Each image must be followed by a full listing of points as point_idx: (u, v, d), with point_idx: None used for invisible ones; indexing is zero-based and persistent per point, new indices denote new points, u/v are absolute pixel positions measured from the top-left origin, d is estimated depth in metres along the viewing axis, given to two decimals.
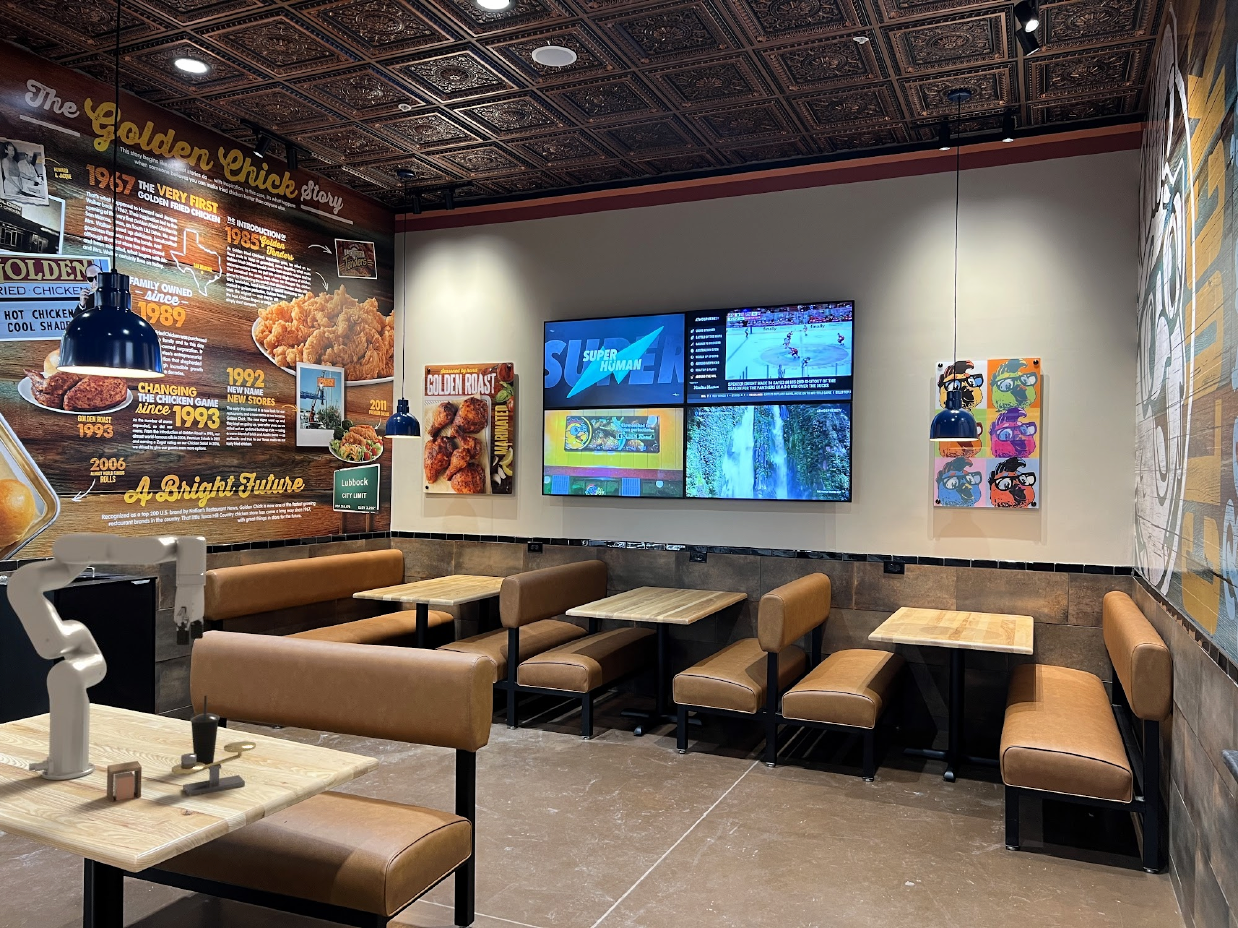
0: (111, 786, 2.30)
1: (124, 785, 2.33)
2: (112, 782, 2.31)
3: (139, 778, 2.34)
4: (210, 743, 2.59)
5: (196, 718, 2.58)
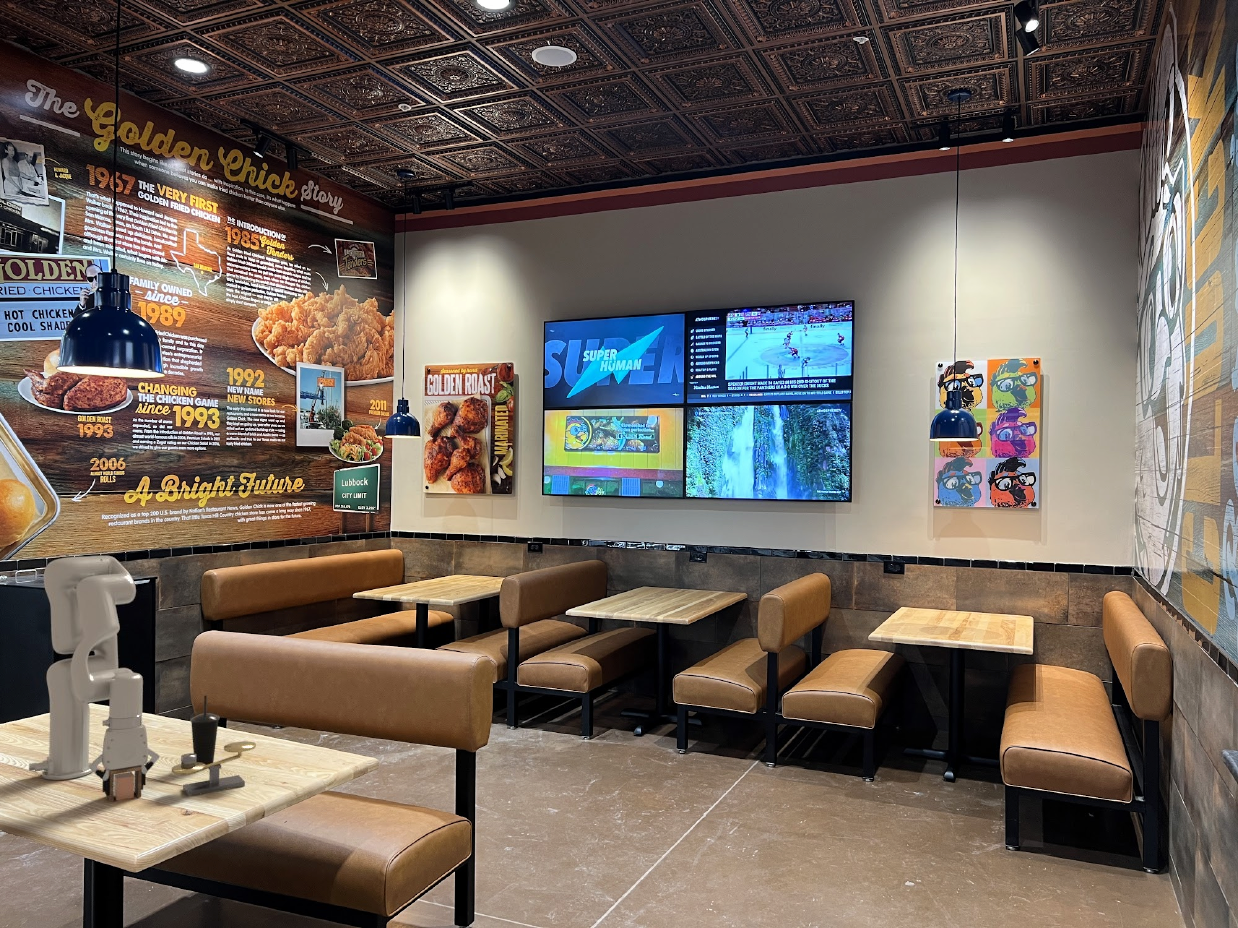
0: (111, 786, 2.30)
1: (124, 785, 2.33)
2: (112, 782, 2.31)
3: (139, 778, 2.34)
4: (210, 743, 2.59)
5: (196, 718, 2.58)
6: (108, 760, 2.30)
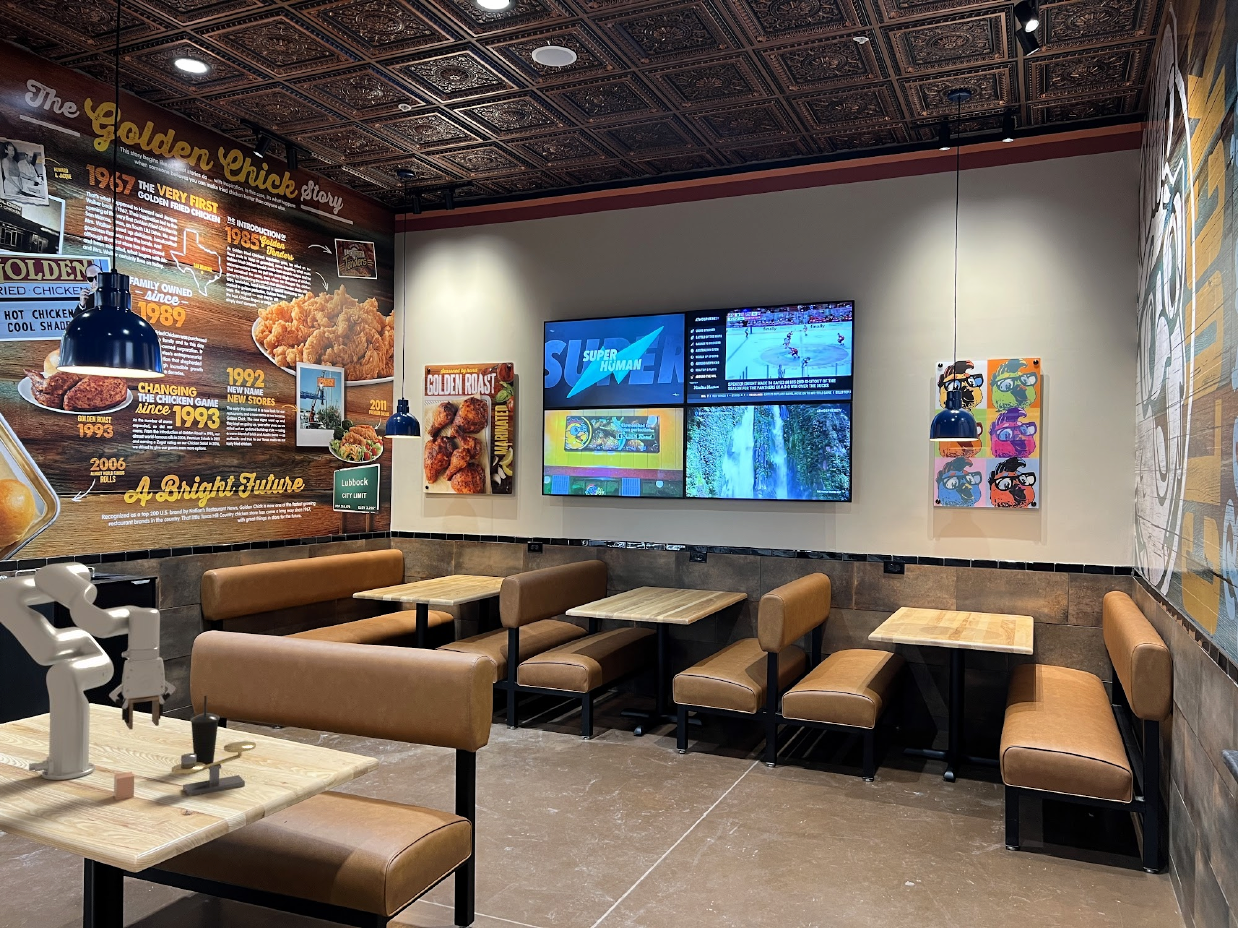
0: (130, 714, 2.42)
1: (124, 785, 2.33)
2: (131, 710, 2.42)
3: (157, 708, 2.46)
4: (210, 743, 2.59)
5: (196, 718, 2.58)
6: (127, 689, 2.42)
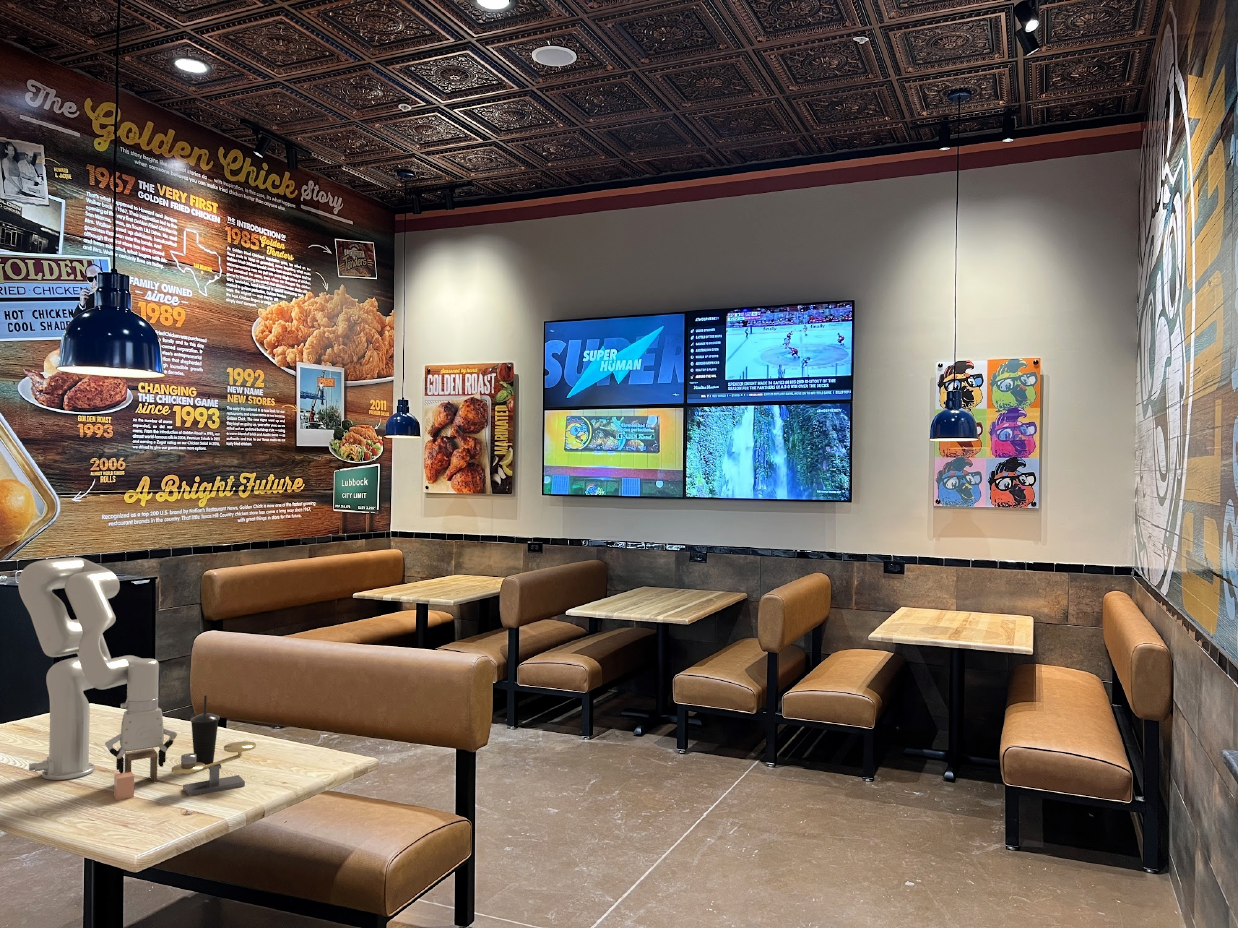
0: None
1: (124, 785, 2.33)
2: (130, 768, 2.42)
3: (155, 765, 2.46)
4: (210, 743, 2.59)
5: (196, 718, 2.58)
6: (126, 741, 2.42)
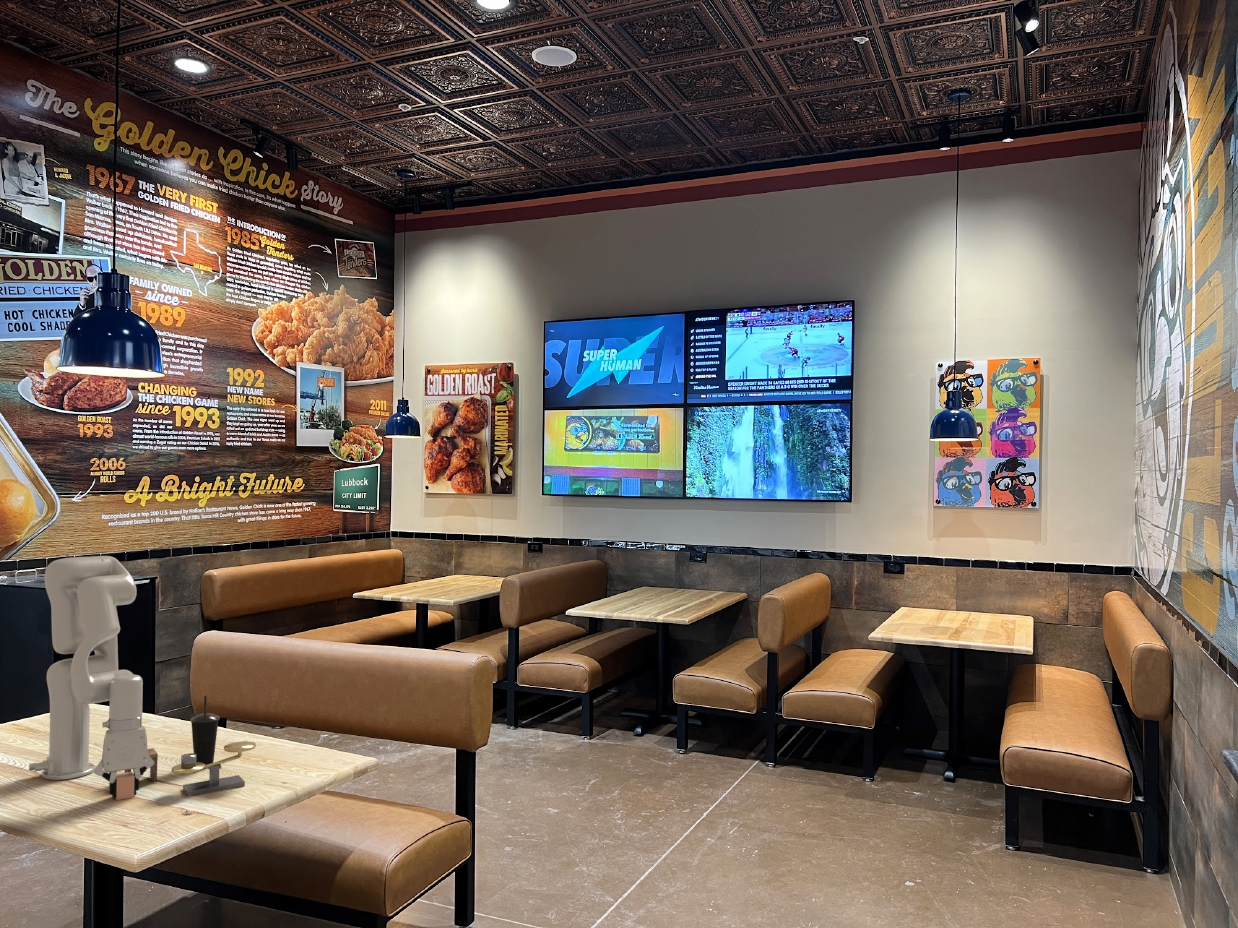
0: None
1: (124, 785, 2.33)
2: None
3: (155, 765, 2.46)
4: (210, 743, 2.59)
5: (196, 718, 2.58)
6: (108, 762, 2.30)
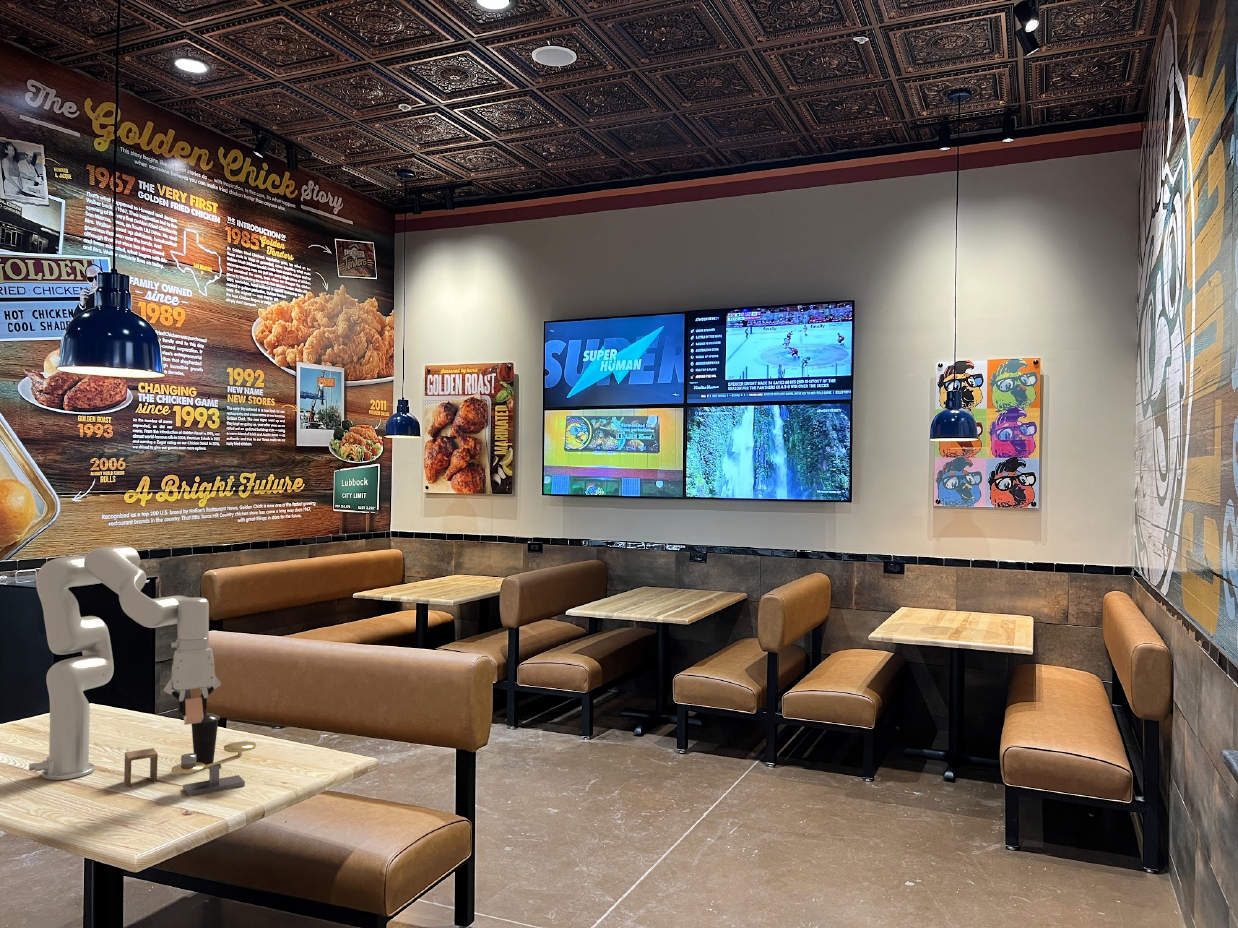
0: (129, 772, 2.42)
1: (193, 705, 2.39)
2: (130, 768, 2.42)
3: (155, 765, 2.46)
4: (210, 743, 2.59)
5: None
6: (177, 680, 2.37)
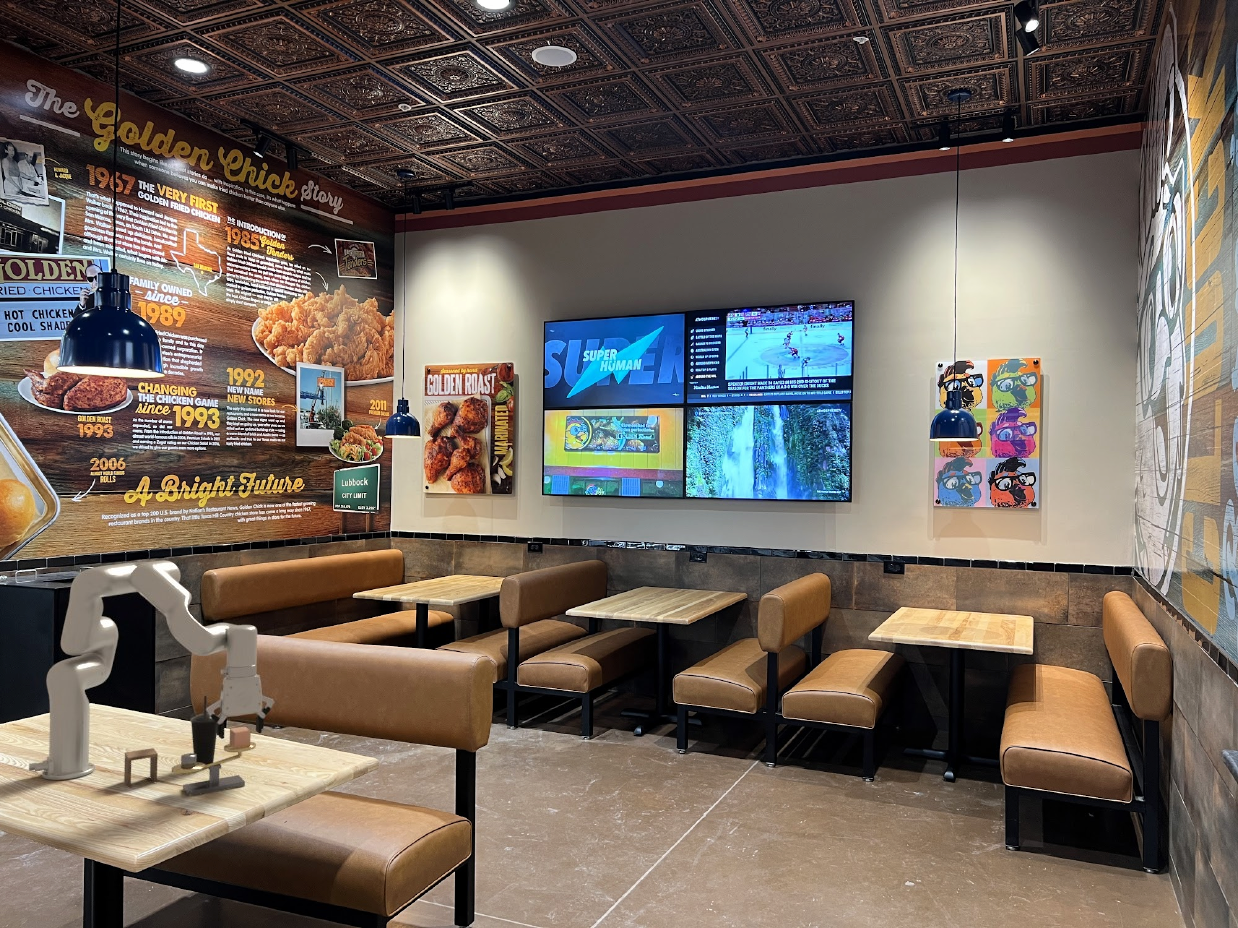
0: (129, 772, 2.42)
1: (238, 729, 2.48)
2: (130, 768, 2.42)
3: (155, 765, 2.46)
4: (210, 743, 2.59)
5: (196, 718, 2.58)
6: (227, 707, 2.42)
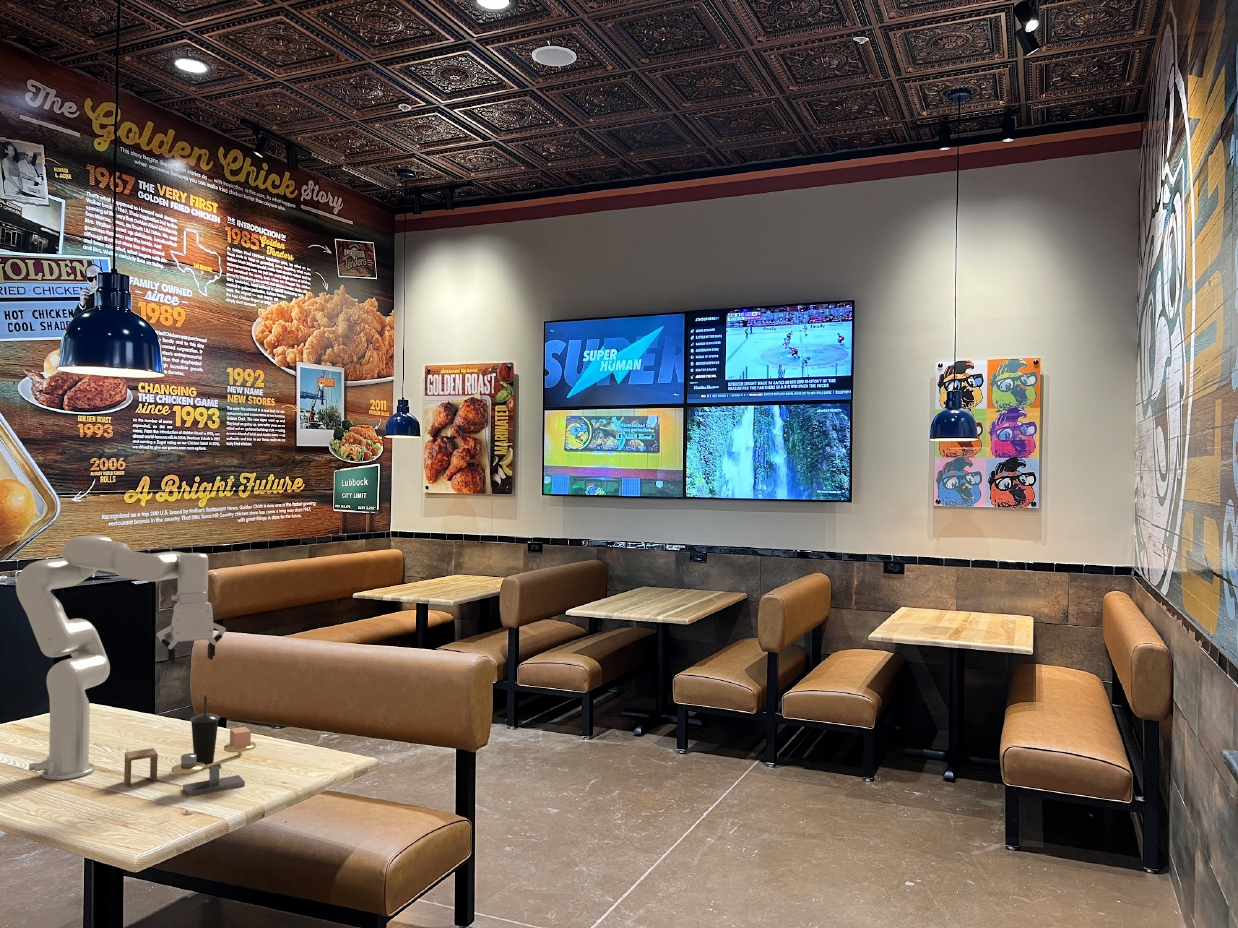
0: (129, 772, 2.42)
1: (239, 729, 2.47)
2: (130, 768, 2.42)
3: (155, 765, 2.46)
4: (210, 743, 2.59)
5: (196, 718, 2.58)
6: (177, 632, 2.45)
